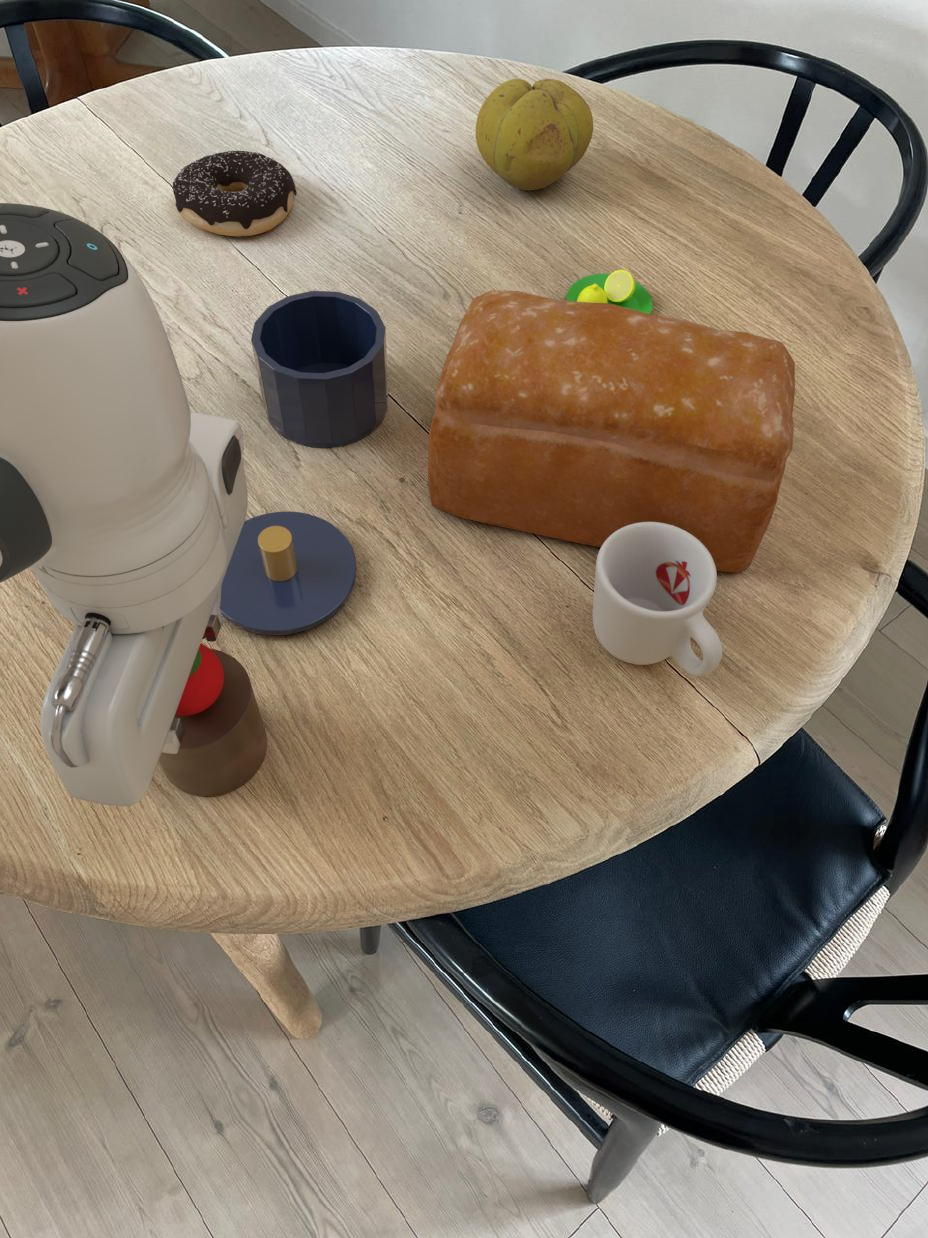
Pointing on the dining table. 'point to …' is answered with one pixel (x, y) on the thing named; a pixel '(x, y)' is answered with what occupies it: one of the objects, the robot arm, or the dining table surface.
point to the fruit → (533, 131)
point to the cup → (655, 597)
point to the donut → (234, 193)
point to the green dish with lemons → (612, 291)
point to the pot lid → (287, 574)
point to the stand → (220, 739)
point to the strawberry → (202, 683)
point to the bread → (610, 424)
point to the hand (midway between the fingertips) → (188, 684)
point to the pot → (322, 368)
